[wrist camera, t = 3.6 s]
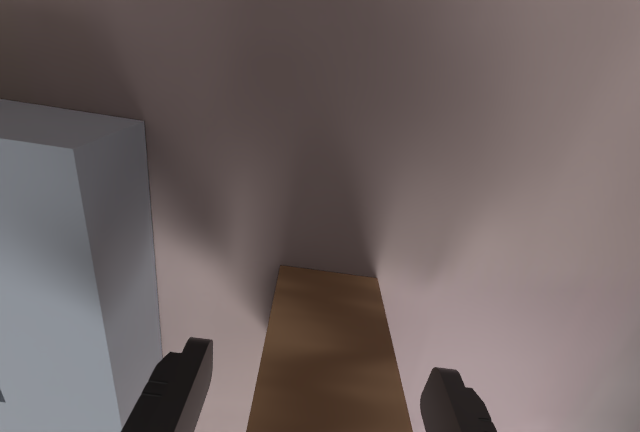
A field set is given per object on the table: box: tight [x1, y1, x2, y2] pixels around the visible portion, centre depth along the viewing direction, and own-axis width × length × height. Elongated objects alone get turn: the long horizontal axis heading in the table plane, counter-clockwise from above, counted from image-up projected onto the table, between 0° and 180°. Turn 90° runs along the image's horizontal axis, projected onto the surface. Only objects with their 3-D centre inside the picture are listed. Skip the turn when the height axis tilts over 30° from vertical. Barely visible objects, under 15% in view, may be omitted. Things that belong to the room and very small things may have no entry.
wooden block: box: [246, 265, 413, 432], centre depth 11 cm, size 4×4×8 cm
